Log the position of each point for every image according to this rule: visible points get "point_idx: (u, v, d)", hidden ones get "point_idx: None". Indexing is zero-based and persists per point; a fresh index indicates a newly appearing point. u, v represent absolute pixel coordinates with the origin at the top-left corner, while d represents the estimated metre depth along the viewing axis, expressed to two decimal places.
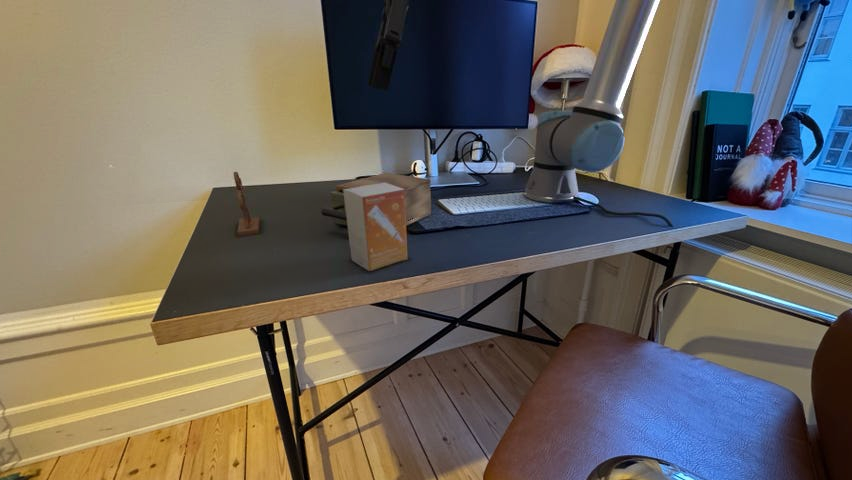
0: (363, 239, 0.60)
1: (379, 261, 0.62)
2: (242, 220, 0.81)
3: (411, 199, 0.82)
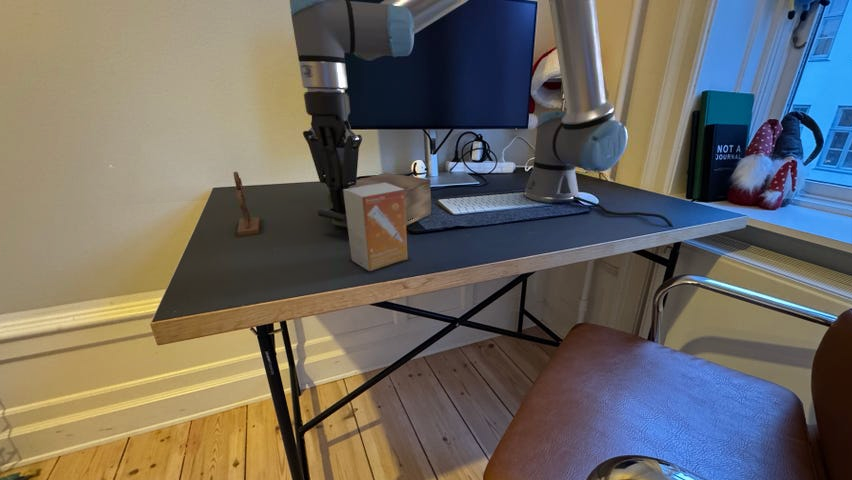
0: (363, 239, 0.60)
1: (379, 261, 0.62)
2: (242, 220, 0.81)
3: (411, 199, 0.82)
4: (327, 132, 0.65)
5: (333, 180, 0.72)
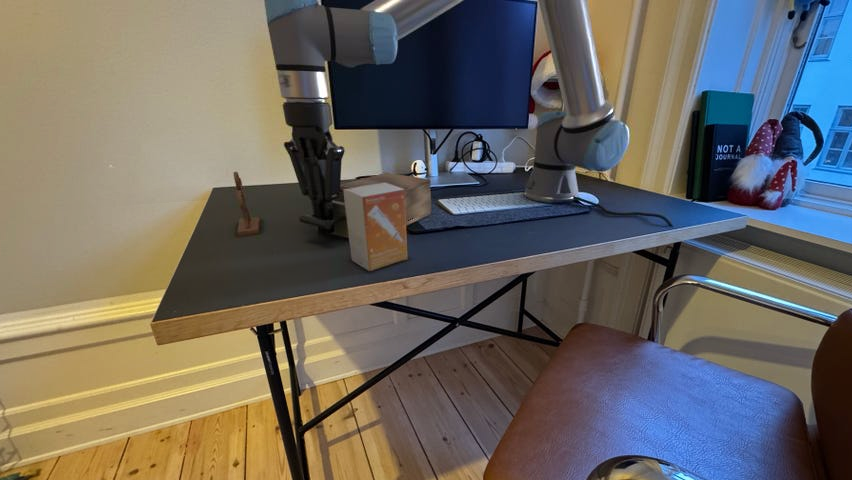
0: (363, 239, 0.60)
1: (379, 261, 0.62)
2: (242, 220, 0.81)
3: (411, 199, 0.82)
4: (308, 144, 0.62)
5: (316, 192, 0.69)
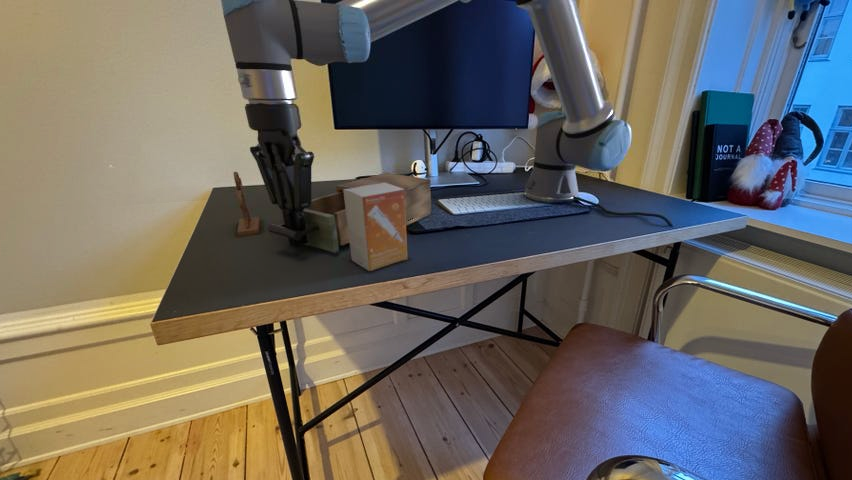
0: (363, 239, 0.60)
1: (379, 261, 0.62)
2: (242, 220, 0.81)
3: (411, 199, 0.82)
4: (274, 149, 0.57)
5: (286, 201, 0.64)
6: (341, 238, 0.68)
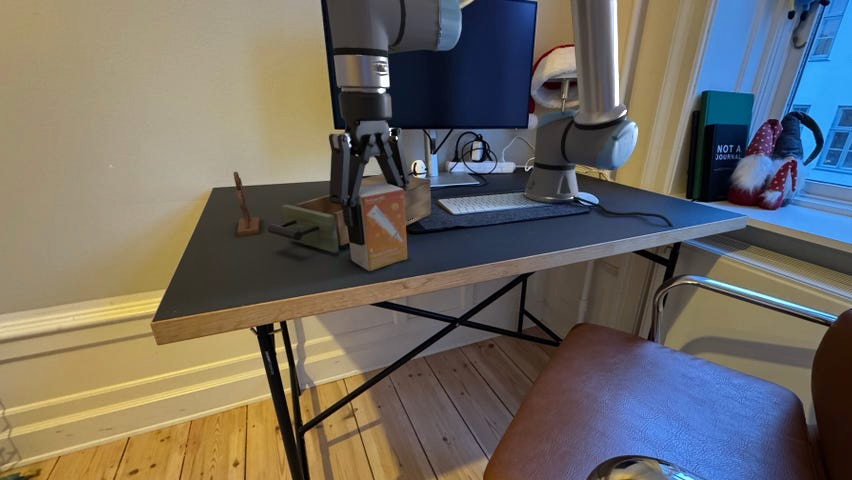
0: None
1: (378, 261, 0.62)
2: (242, 220, 0.81)
3: (411, 199, 0.82)
4: (383, 138, 0.57)
5: None
6: (341, 238, 0.68)
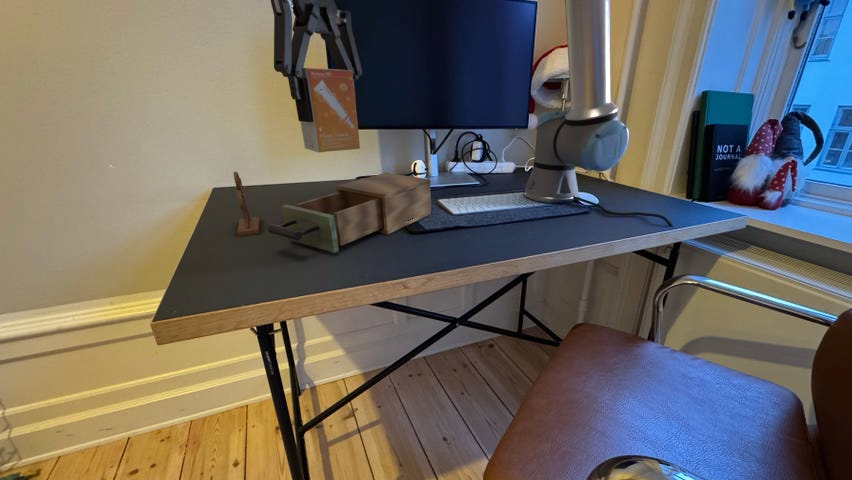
0: None
1: (329, 144, 0.64)
2: (242, 220, 0.81)
3: (411, 199, 0.82)
4: (329, 13, 0.58)
5: None
6: (341, 238, 0.68)
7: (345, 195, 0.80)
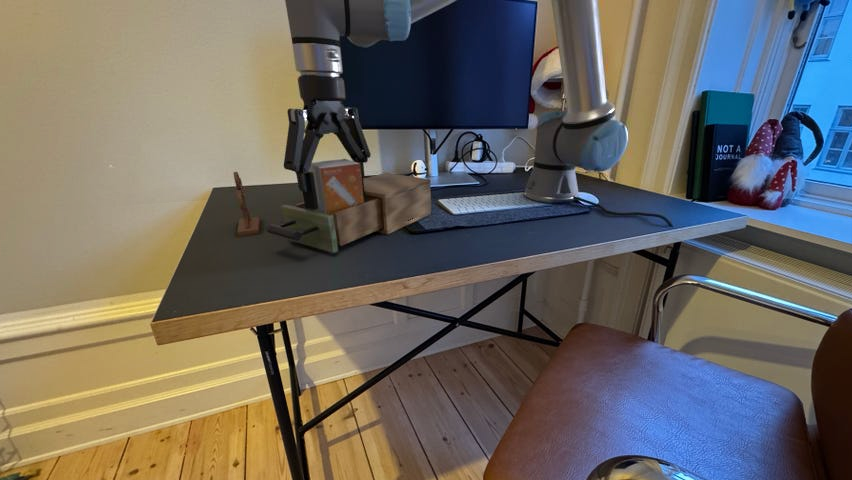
0: (323, 207, 0.69)
1: None
2: (242, 220, 0.81)
3: (411, 199, 0.82)
4: (338, 117, 0.66)
5: None
6: (340, 238, 0.68)
7: None
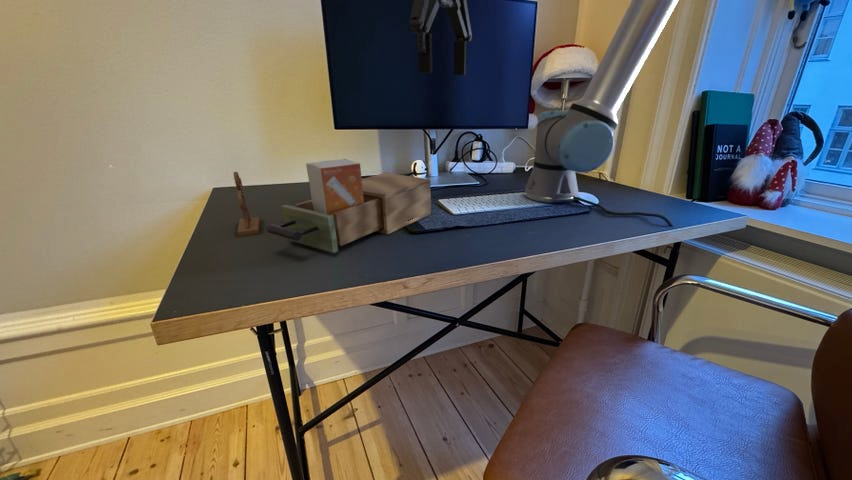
0: (323, 207, 0.69)
1: None
2: (242, 220, 0.81)
3: (411, 199, 0.82)
4: None
5: None
6: (340, 238, 0.68)
7: None
